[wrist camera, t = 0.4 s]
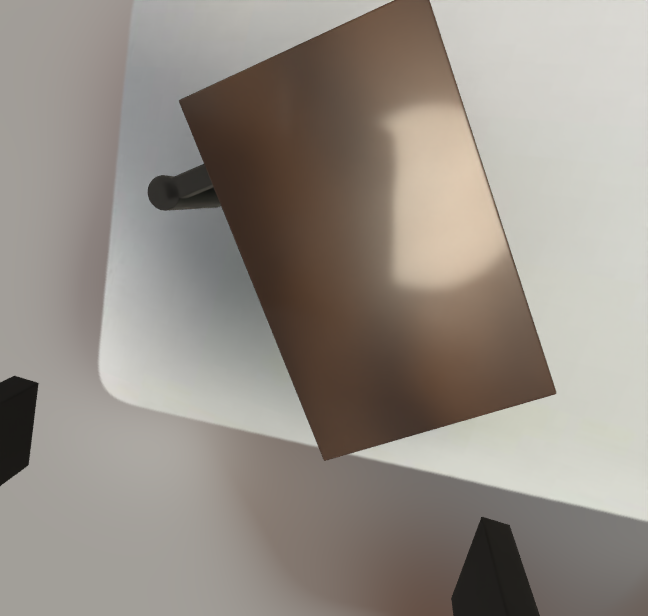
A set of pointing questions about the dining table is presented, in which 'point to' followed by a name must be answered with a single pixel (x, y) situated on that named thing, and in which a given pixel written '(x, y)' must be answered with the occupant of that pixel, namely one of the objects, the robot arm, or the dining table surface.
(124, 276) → the dining table surface
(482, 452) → the dining table surface
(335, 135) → the cupboard
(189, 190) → the sliding door
